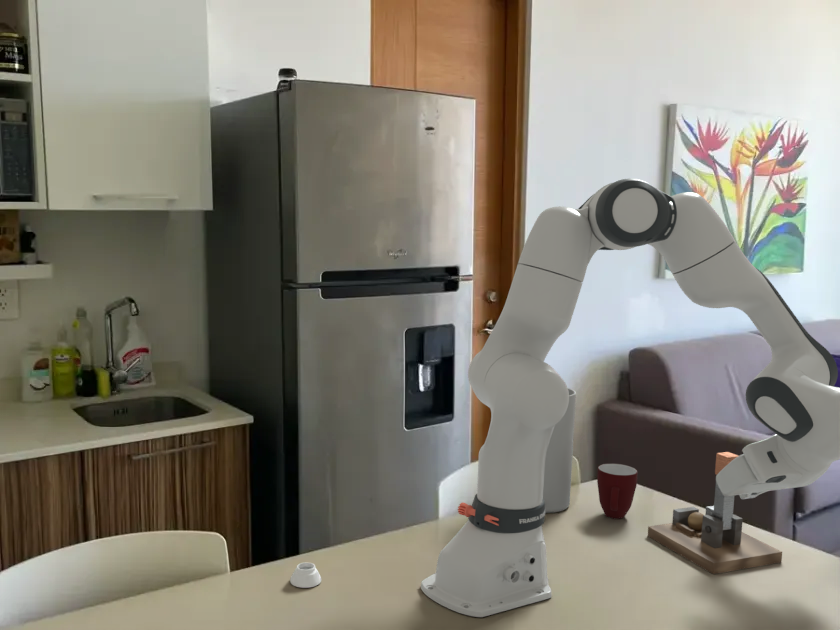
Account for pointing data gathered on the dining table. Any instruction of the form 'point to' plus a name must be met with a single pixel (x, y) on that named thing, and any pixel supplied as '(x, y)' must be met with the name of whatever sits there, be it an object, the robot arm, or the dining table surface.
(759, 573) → the dining table surface
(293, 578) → the lidless jar
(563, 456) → the cylinder vase
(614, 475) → the mug
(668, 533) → the bench
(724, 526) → the lever
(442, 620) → the dining table surface
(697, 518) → the walnut
